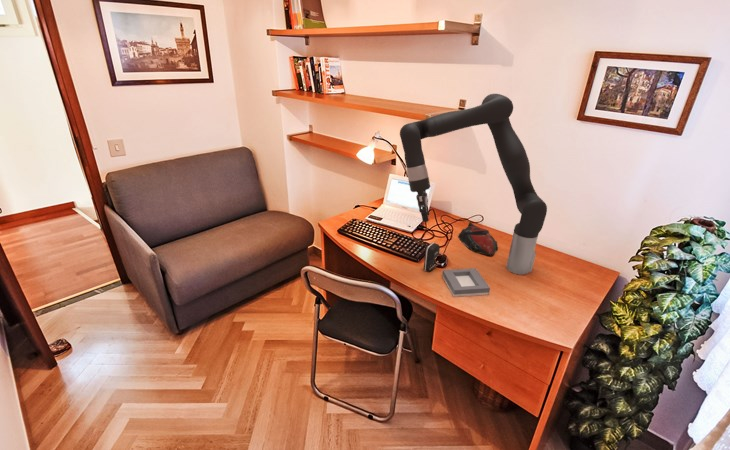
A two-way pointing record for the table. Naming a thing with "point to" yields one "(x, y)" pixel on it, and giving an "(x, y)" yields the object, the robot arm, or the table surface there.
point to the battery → (431, 256)
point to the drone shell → (478, 240)
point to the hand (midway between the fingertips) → (426, 218)
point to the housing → (465, 282)
